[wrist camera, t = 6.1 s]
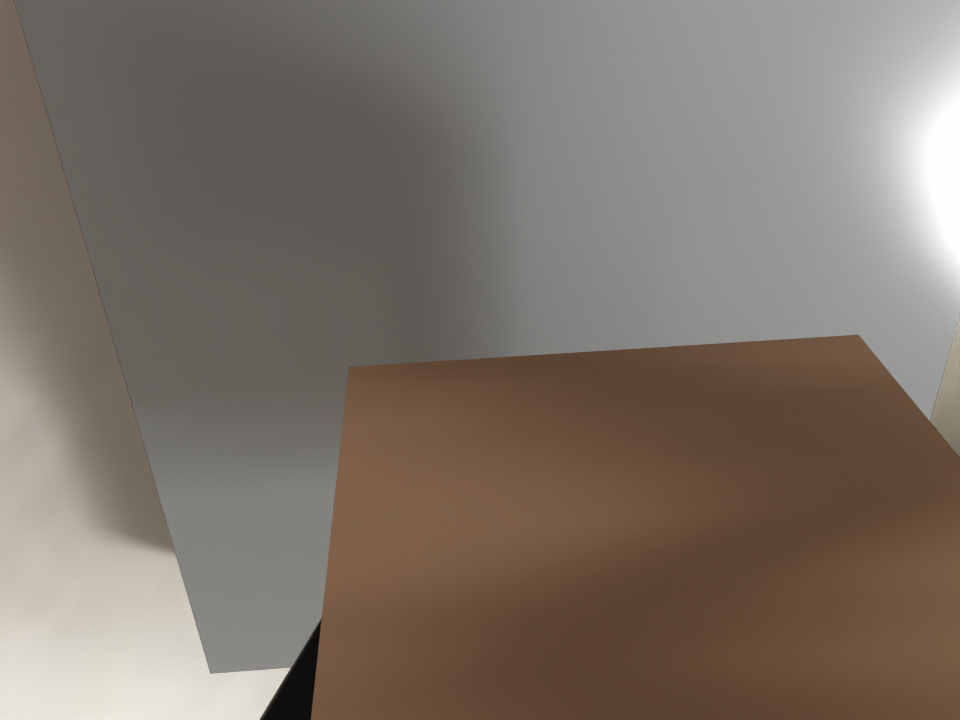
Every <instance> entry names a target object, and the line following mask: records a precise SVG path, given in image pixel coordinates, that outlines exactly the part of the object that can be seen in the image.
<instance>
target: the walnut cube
mask: <svg viewBox="0 0 960 720" xmlns="http://www.w3.org/2000/svg"><path fill="white" fill-rule="evenodd" d="M311 720H960V458H959V456H958V455H957V454H956V453H955V451H954V450H953V449H952V448H951V447H950V445H949V444H948V443H947V442H946V440H945V439H944V438H943V437H942V436H941V434H940V433H939V432H938V431H937V430H936V428H935V427H934V426H933V425H932V423H931V422H930V421H929V420H928V419H927V417H926V416H925V415H924V414H923V412H922V411H921V410H920V409H919V408H918V406H917V405H916V404H915V403H914V401H913V400H912V399H911V398H910V397H909V395H908V394H907V393H906V392H905V391H904V389H903V388H902V387H901V386H900V384H899V383H898V382H897V381H896V380H895V378H894V377H893V376H892V375H891V373H890V372H889V371H888V370H887V369H886V367H885V366H884V365H883V364H882V362H881V361H880V360H879V359H878V358H877V356H876V355H875V354H874V353H873V352H872V350H871V349H870V348H869V347H868V345H867V344H866V343H865V342H864V341H863V339H862V338H861V337H860V336H859V335H845V336H829V337H813V338H797V339H781V340H766V341H750V342H734V343H718V344H702V345H686V346H670V347H655V348H639V349H623V350H607V351H591V352H575V353H560V354H544V355H528V356H512V357H496V358H480V359H464V360H449V361H433V362H417V363H401V364H385V365H369V366H353V367H348V377H347V386H346V395H345V405H344V414H343V424H342V433H341V442H340V452H339V461H338V470H337V480H336V489H335V499H334V508H333V517H332V527H331V536H330V545H329V555H328V564H327V574H326V583H325V592H324V602H323V611H322V620H321V630H320V639H319V648H318V658H317V667H316V677H315V686H314V695H313V705H312V714H311Z"/></svg>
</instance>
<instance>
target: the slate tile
mask: <svg viewBox="0 0 960 720" xmlns="http://www.w3.org/2000/svg"><path fill="white" fill-rule="evenodd" d="M14 2H15V5H16V8H17V12H18V15H19V19H20V22H21V26H22V29H23V32H24V36H25V39H26V43H27V46H28V50H29V53H30V56H31V60H32V63H33V67H34V70H35V74H36V77H37V80H38V84H39V87H40V91H41V94H42V98H43V101H44V104H45V108H46V111H47V115H48V118H49V122H50V125H51V128H52V132H53V135H54V139H55V142H56V146H57V149H58V152H59V156H60V159H61V163H62V166H63V170H64V173H65V176H66V180H67V183H68V187H69V190H70V194H71V197H72V200H73V204H74V207H75V211H76V214H77V218H78V221H79V224H80V228H81V231H82V235H83V238H84V242H85V245H86V248H87V252H88V255H89V259H90V262H91V266H92V269H93V272H94V276H95V279H96V283H97V286H98V290H99V293H100V296H101V300H102V303H103V307H104V310H105V314H106V317H107V320H108V324H109V327H110V331H111V334H112V338H113V341H114V344H115V348H116V351H117V355H118V358H119V362H120V365H121V368H122V372H123V375H124V379H125V382H126V386H127V389H128V392H129V396H130V399H131V403H132V406H133V410H134V413H135V416H136V420H137V423H138V427H139V430H140V434H141V437H142V440H143V444H144V447H145V451H146V454H147V458H148V461H149V464H150V468H151V471H152V475H153V478H154V482H155V485H156V488H157V492H158V495H159V499H160V502H161V506H162V509H163V512H164V516H165V519H166V523H167V526H168V530H169V533H170V536H171V540H172V543H173V547H174V550H175V554H176V557H177V560H178V564H179V567H180V571H181V574H182V578H183V581H184V584H185V588H186V591H187V595H188V598H189V602H190V605H191V608H192V612H193V615H194V619H195V622H196V626H197V629H198V632H199V636H200V639H201V643H202V646H203V650H204V653H205V656H206V660H207V663H208V667H209V670H210V674H212V673H225V672H238V671H251V670H264V669H277V668H290V667H292V665H293V664H294V662H295V660H296V659H297V657H298V655H299V654H300V652H301V651H302V649H303V647H304V646H305V644H306V642H307V641H308V639H309V637H310V636H311V634H312V632H313V631H314V629H315V627H316V626H317V624H318V623H319V621H320V619H321V618H322V611H323V602H324V592H325V583H326V574H327V564H328V555H329V545H330V536H331V527H332V517H333V508H334V499H335V489H336V480H337V470H338V461H339V452H340V442H341V433H342V424H343V414H344V405H345V395H346V386H347V377H348V367H353V366H369V365H385V364H401V363H417V362H433V361H449V360H464V359H480V358H496V357H512V356H528V355H544V354H560V353H575V352H591V351H607V350H623V349H639V348H655V347H670V346H686V345H702V344H718V343H734V342H750V341H766V340H781V339H797V338H813V337H829V336H845V335H859V336H860V337H861V338H862V339H863V341H864V342H865V343H866V344H867V345H868V347H869V348H870V349H871V350H872V352H873V353H874V354H875V355H876V356H877V358H878V359H879V360H880V361H881V362H882V364H883V365H884V366H885V367H886V369H887V370H888V371H889V372H890V373H891V375H892V376H893V377H894V378H895V380H896V381H897V382H898V383H899V384H900V386H901V387H902V388H903V389H904V391H905V392H906V393H907V394H908V395H909V397H910V398H911V399H912V400H913V401H914V403H915V404H916V405H917V406H918V408H919V409H920V410H921V411H922V412H923V414H924V415H925V416H926V417H927V419H928V420H929V421H930V418H931V415H932V411H933V408H934V404H935V401H936V397H937V394H938V390H939V387H940V383H941V380H942V376H943V373H944V369H945V366H946V362H947V359H948V356H949V352H950V349H951V345H952V342H953V338H954V335H955V331H956V328H957V324H958V321H959V317H960V0H14Z"/></svg>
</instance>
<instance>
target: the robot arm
mask: <svg viewBox="0 0 960 720" xmlns="http://www.w3.org/2000/svg"><path fill="white" fill-rule="evenodd" d="M321 620H322V618H321V619H320V621H319V623H318V624H317V626H316V627H315V629H314V631H313V632H312V634H311V636H310V637H309V639H308V641H307V642H306V644H305V646H304V647H303V649H302V651H301V652H300V654H299V655H298V657H297V659H296V660H295V662H294V664H293V665H292V667H291V669H290V670H289V672H288V674H287V675H286V677H285V679H284V680H283V682H282V683H281V685H280V687H279V688H278V690H277V692H276V693H275V695H274V697H273V698H272V700H271V702H270V703H269V705H268V707H267V708H266V710H265V712H264V713H263V715H262V716H261V718H260V720H311V714H312V705H313V695H314V686H315V677H316V667H317V658H318V648H319V639H320V630H321Z"/></svg>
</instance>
